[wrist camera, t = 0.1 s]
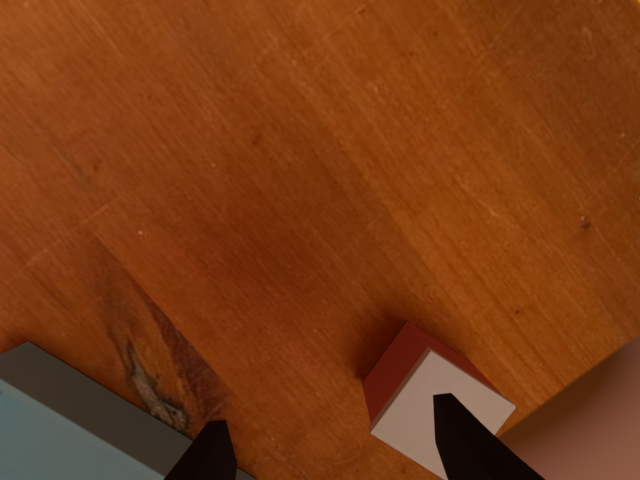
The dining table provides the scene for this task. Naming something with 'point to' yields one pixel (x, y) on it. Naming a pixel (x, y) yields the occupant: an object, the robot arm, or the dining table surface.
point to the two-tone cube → (425, 394)
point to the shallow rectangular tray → (76, 426)
